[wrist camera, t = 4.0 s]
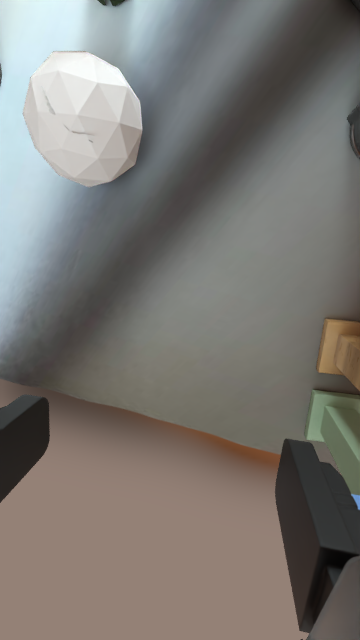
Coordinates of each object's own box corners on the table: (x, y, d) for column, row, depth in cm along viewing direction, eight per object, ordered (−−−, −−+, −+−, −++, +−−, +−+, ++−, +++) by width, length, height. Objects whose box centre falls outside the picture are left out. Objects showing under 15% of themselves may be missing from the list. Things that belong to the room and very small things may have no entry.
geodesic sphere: (191, 129, 36) (94, 12, 25) (125, 228, 40) (16, 163, 29) (136, 101, 45) (45, 4, 34) (86, 185, 49) (-10, 122, 38)
